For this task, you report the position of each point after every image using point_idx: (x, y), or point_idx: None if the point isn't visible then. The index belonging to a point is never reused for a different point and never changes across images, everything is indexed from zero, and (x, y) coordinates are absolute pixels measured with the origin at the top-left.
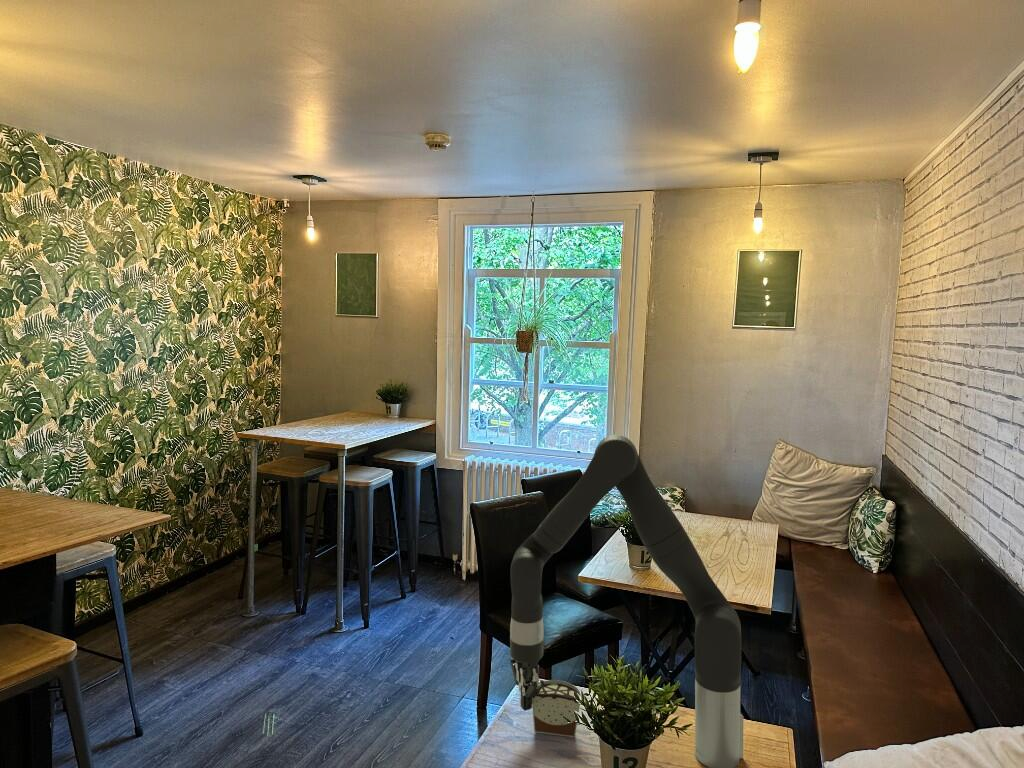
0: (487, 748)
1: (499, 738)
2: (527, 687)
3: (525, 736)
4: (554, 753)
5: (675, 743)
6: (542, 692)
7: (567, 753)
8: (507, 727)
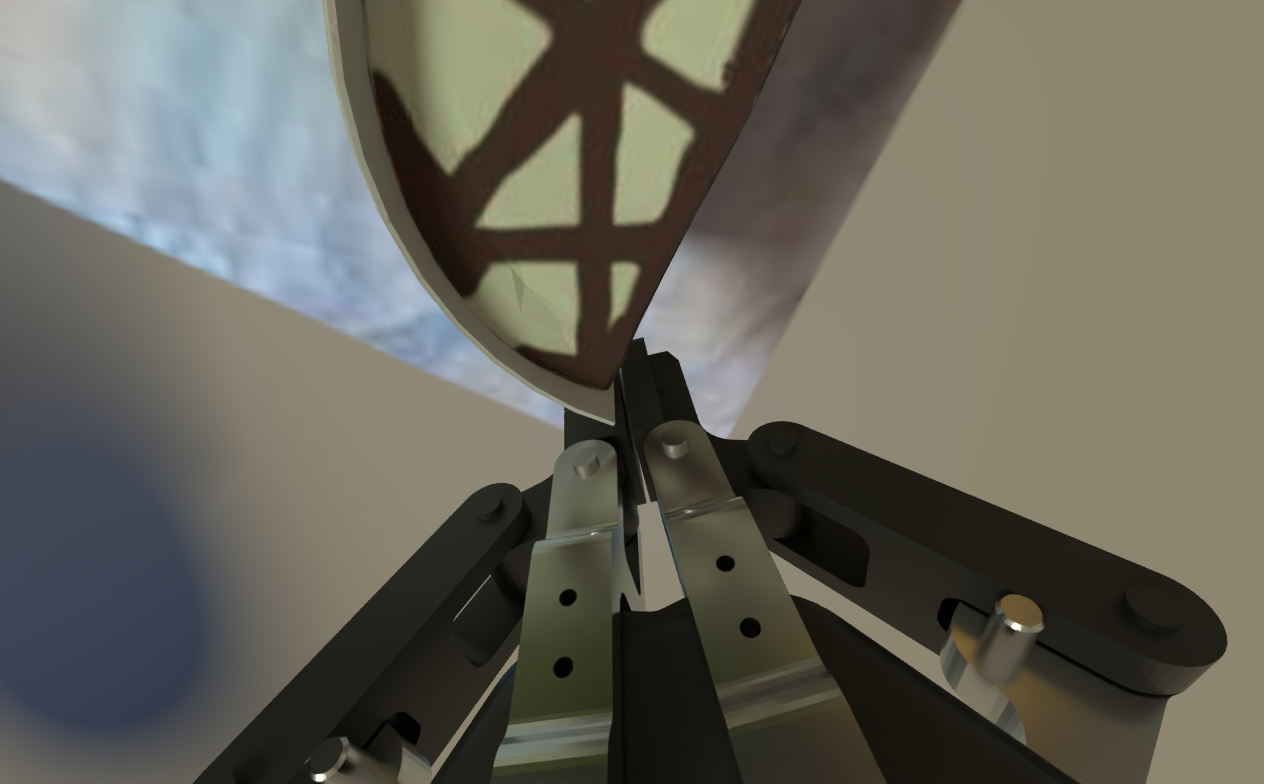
0: None
1: None
2: (626, 496)
3: None
4: (830, 138)
5: None
6: (607, 277)
7: (878, 38)
8: None
